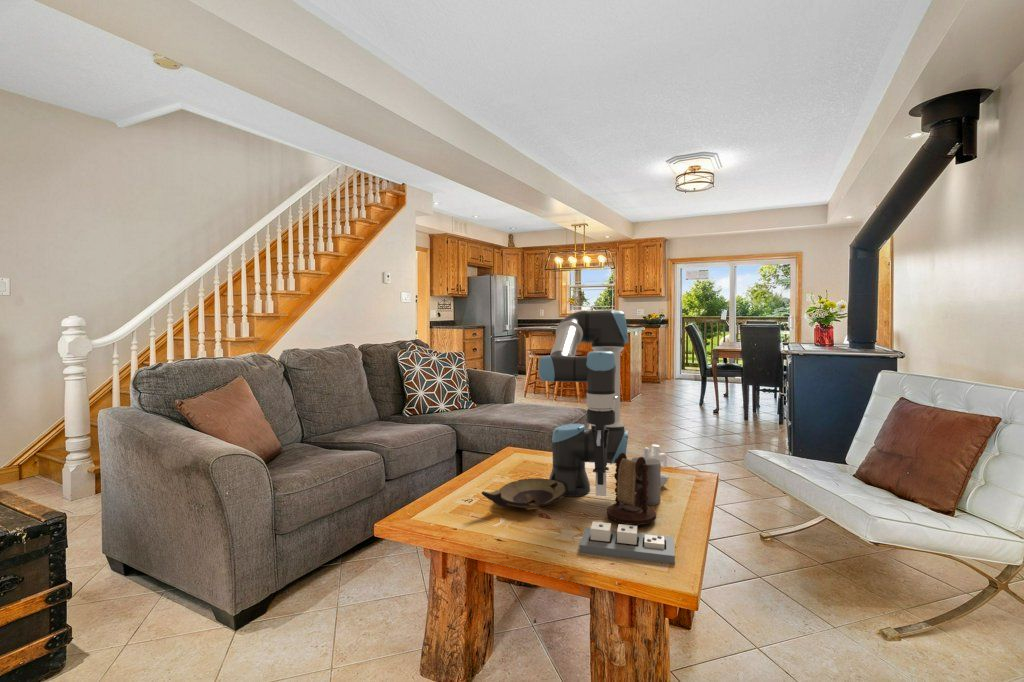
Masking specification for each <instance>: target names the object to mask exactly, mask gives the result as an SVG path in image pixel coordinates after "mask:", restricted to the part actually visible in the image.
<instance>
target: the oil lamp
mask: <svg viewBox="0 0 1024 682" xmlns="http://www.w3.org/2000/svg"><path fill="white" fill-rule="evenodd" d="M553 486H556V487H555V488H552V487H553ZM565 493H566V487H565V483H561V482H559V481H558V480H551V479H549V478H543V477H542V478H538V477H536V478H534V477H532V478H523V479H518V480H515V481H510V482H508V483H506V484H505V485H503V486H502V487H500V489H496V490H494V491H491V492H488V491H481V495H482V496H483V497H485V498H486V499H488V500H490V501H491V502H493V503H494V504H496V505H497V506H498V507H501V508H505V507H508V506H509V507H516V508H520V509H532V508H533V509H534V508H538V507H544V506H549V505H550V504H553V503H555V502H557V501H559V500H561V499H562V498H563V497H565V496H564V494H565ZM532 502H534V503H532Z"/></svg>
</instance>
